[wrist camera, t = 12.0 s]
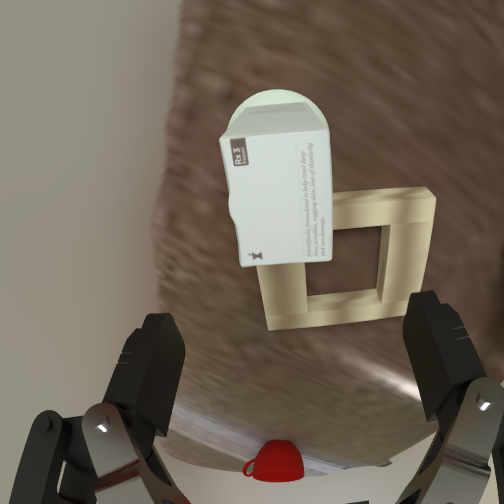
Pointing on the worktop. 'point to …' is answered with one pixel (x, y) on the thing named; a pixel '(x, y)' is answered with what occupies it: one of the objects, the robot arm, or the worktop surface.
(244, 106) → the pale green disc
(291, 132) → the skincare box
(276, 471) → the ceramic cup
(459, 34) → the worktop surface
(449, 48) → the worktop surface
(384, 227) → the pocket board
